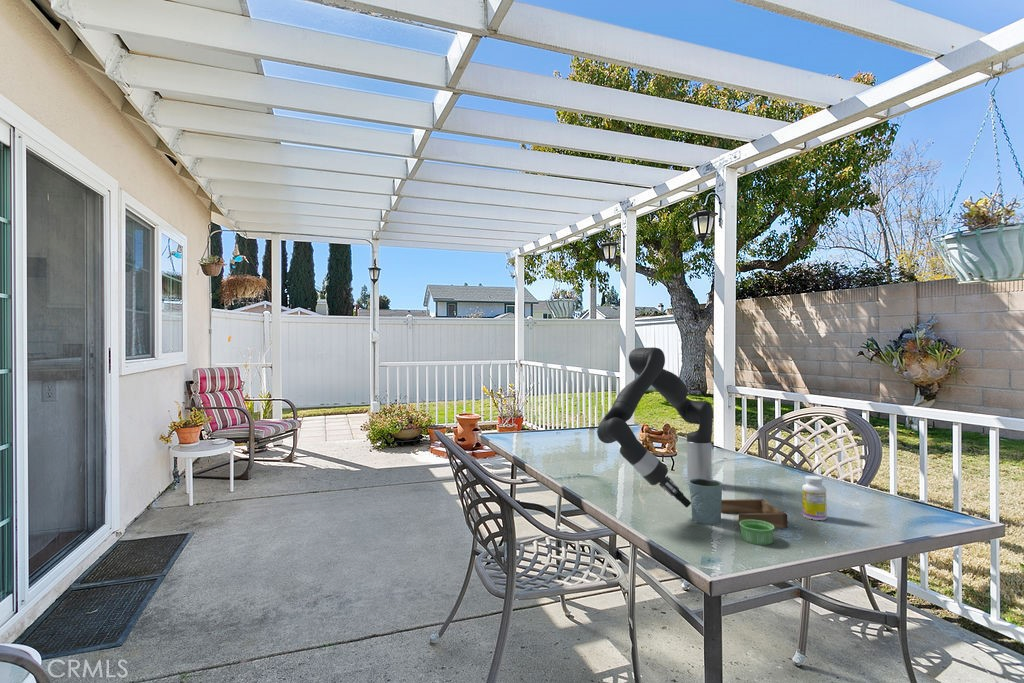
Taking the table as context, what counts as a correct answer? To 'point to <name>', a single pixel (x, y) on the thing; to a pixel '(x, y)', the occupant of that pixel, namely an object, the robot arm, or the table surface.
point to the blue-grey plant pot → (706, 500)
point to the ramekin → (756, 531)
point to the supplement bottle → (814, 498)
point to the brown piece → (755, 511)
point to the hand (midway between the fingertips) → (688, 504)
